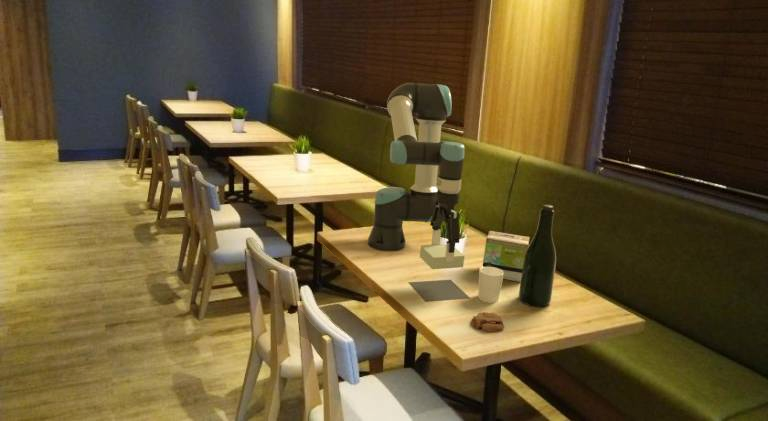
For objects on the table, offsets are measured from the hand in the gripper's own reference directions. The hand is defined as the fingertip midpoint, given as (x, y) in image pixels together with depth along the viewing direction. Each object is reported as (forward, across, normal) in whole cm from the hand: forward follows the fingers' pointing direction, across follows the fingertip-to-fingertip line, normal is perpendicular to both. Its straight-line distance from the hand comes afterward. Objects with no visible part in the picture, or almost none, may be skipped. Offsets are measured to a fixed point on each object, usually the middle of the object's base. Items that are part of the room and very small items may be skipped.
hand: (441, 254), depth 203 cm
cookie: (+13, +26, +5) cm, 30 cm away
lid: (+3, 0, 0) cm, 3 cm away
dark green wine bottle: (+13, +14, +29) cm, 34 cm away
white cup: (+13, +10, +14) cm, 21 cm away
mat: (+13, 0, 0) cm, 13 cm away
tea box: (+13, -10, +30) cm, 34 cm away
